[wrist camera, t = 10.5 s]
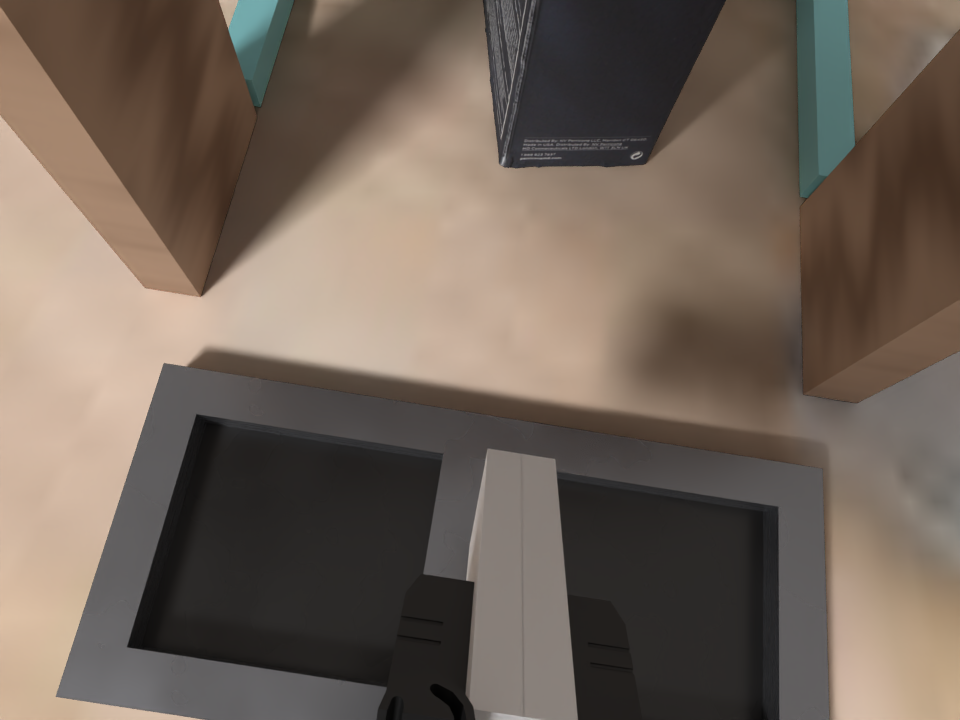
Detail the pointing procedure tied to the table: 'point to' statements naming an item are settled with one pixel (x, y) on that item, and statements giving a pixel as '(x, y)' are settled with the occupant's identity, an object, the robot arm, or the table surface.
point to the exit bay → (817, 67)
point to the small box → (589, 76)
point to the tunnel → (231, 119)
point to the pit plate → (430, 556)
